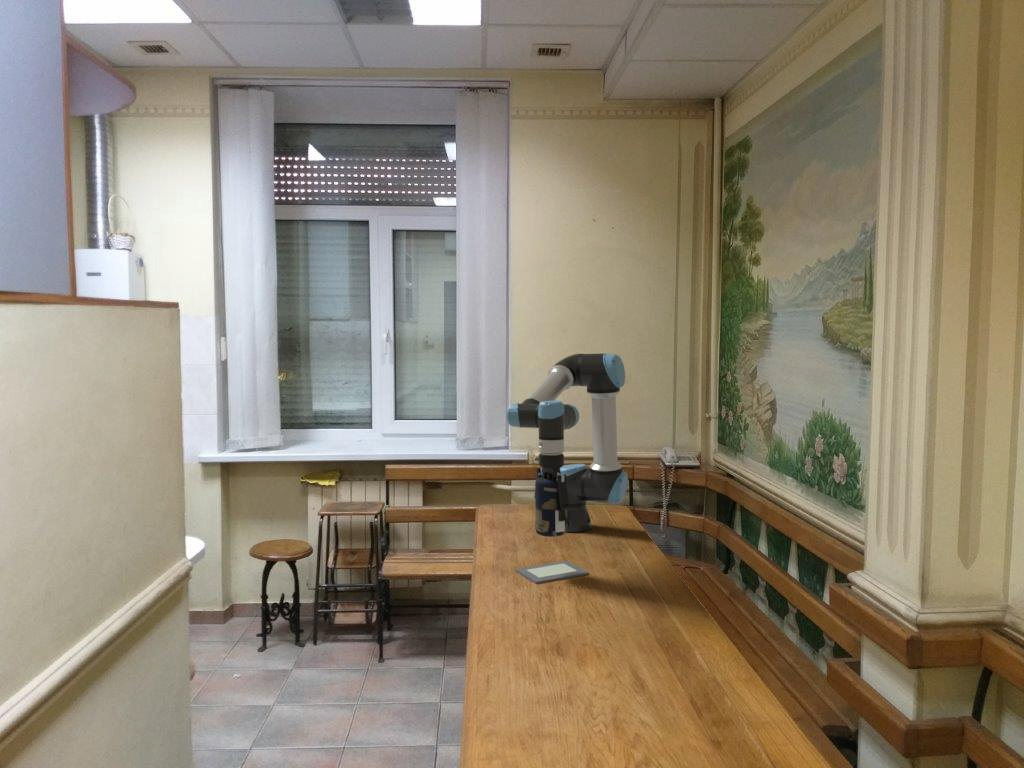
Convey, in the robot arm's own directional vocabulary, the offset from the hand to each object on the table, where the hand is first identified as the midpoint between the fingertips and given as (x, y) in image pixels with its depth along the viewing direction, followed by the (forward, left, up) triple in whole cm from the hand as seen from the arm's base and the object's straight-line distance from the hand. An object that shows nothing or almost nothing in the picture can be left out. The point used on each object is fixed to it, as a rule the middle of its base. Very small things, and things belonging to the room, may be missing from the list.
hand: (551, 527), depth 216 cm
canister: (0, 0, -2) cm, 2 cm away
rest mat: (0, 0, -14) cm, 14 cm away
